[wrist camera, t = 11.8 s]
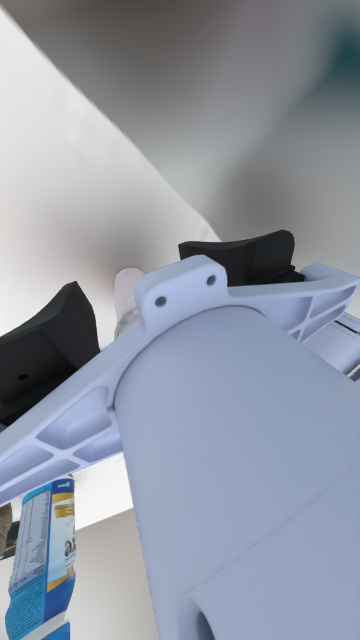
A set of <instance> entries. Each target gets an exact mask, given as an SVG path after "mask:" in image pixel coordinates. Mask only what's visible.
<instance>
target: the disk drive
mask: <svg viewBox="0 0 360 640" xmlns="http://www.w3.org/2000/svg"><path fill="white" fill-rule="evenodd" d="M19 526H20V522H17V523H14V524H12V525H11V528H10V529H9V531H8V532H7V539H6V547H5V549H4V551H3V553H2V555H1V557H0V560H3V559H6V558H8V557H11V556H14V555H15V552H16V546H17V539H18V533H19Z"/></svg>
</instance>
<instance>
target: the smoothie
mask: <svg viewBox="0 0 360 640" xmlns="http://www.w3.org/2000/svg"><path fill="white" fill-rule="evenodd" d="M145 275H146V273H144V272H143V271H142V270H140V269H138V268H134V267H129V268H125V269H123V270H121V271H120V272H119V273H118V274H117V275H116V277H115V279H114V295H115V306H116V316H117V328H116V330H115V336H114V341H115V340H116V339H117V338H119V337H120V336H121V335H122V334H123V333H125V332H126V331H127V330H128V329H130V328H131V327H132V326H133V325H134V324H136V323H137V322H138V320H139V318H140V313H139V309H138V307H137V304H136V302H135V297H134V288H135V286H136V284H137V282H138V280H139V279H140V278H142V277H143V276H145Z"/></svg>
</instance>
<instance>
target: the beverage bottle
mask: <svg viewBox="0 0 360 640" xmlns="http://www.w3.org/2000/svg"><path fill="white" fill-rule="evenodd" d="M75 556H76V544H75V514H74V479H73V477H71V476H67V475H66V476H64V477H62V478H59V479H57V480H55V481H53V482H50V483H48V484H46V485H43V486H41V487H39V488H37V489H35V490H33V491H31V492H29V493H27V494H25V495H24V497H23V501H22V511H21V519H20V526H19V533H18V539H17V546H16V552H15V559H14V566H13V572H12V575H11V577H10V581H9V595H10V598H11V602H10V606H9V608H8V610H7V612H6V615H5V625H6V631H7V634H8V637H9V640H70V623H69V619H67V620H65V621H64V616H65V613H66V610H67V607H68V604H69V602H70V598H71V595H72V592H73V588H74V583H75V576H76V574H75V571H74V569H73V563H74V560H75Z"/></svg>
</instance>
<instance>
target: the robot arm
mask: <svg viewBox="0 0 360 640" xmlns="http://www.w3.org/2000/svg"><path fill="white" fill-rule="evenodd" d="M294 245H295V243H294V237H293V235H292V233H290V232H289V231H286V230H280V231H276V232H273V233H271V234H267V235H264V236H260V237H256V238H252V239H247V240H241V241H235V242H198V241H187V242H184V243H181V244H178V248H179V253H180V259H181V261H178V262H175V263H173V264H170V265H167V266H165V267H162V268H159V269H157V270H154V271H151V272H149V273H147V274H146V275H145V276H143V277H142V278H140V279H139V280H138V282H137V284H136V286H135V288H134V297H135V302H136V304H137V307H138V309H139V313H140V318H139V320H138V322H137V323H136V324H134V325H133V326H132V327H131V328H130V329H128V330H127V331H126V332H125V333H123V334H122V335H121V336H120V337H119V338H117V339H116V340H115V341H114V342H112V343H111V344H110V345H109V346H107V347H106V348H105V349H104V350H103V351H101V352H100V349H99V344H98V337H97V328H96V320H95V315H94V311H93V308H92V305H91V304H90V302H89V301H88V299H87V297H86V296H85V294H84V293H83V291H82V289H81V288H80V286H79V285H78V283H77V281H74V282H71V283H68V284H66V285H65V286H63V287H62V289H61V290H60V291H59V292H58V293H57V294H56V295H55V297H54V298H53V299H52V300H51V301H50V302H49V303H48V304H47V305H46V306H45V307H44V308H43V309H42V310H41V311H40V312H38V313H37V314H36V315H35V316H33V317H32V318H31V319H29V320H28V321H26V322H25V323H23V324H22V325H20V326H19V327H17V328H15V329H14V330H12V331H10V332H8V333H7V334H5V335H3V336H1V337H0V507H2V506H4V505H6V504H7V503H9V502H11V501H13V500H15V499H17V498H19V497H21V496H23V495H25V494H27V493H29V492H31V491H33V490H35V489H37V488H39V487H41V486H43V485H46V484H48V483H50V482H53V481H55V480H57V479H59V478H62V477H64V476H66V475H69V474H71V473H74V472H76V471H78V470H81V469H83V468H86V467H88V466H90V465H93V464H95V463H98V462H100V461H102V460H105V459H107V458H110V457H112V456H114V455H117V454H119V453H122V452H123V453H124V459H125V464H126V469H127V474H128V480H129V485H130V490H131V495H132V500H133V506H134V511H135V516H136V521H137V527H138V532H139V537H140V542H141V547H142V553H143V558H144V563H145V568H146V574H147V579H148V584H149V589H150V594H151V600H152V605H153V609H154V613H155V619H156V624H157V629H158V634H159V639H160V640H360V368H359V369H358V370H357V371H356V372H355V373H353V375H351V376H350V377H347V375H348V374H349V373H350V372H351V371H352V370H353V369H354V368H355V367H357V365H359V364H360V335H358V334H360V319H358V318H356V317H354V316H352V315H350V314H348V313H346V312H345V310H346V308H347V306H348V304H349V303H350V301H351V299H352V297H353V295H354V293H355V291H356V290H357V288H358V286H359V284H360V277H358V276H355V275H352V274H349V273H347V272H344V271H341V270H338V269H335V268H332V267H330V266H327V265H324V264H321V263H318V262H316V263H314V264H312V265H309V266H307V267H305V268H303V269H302V270H301V271H300V272H299V273H298V272H296V271H293V270H295V266H293V265H290V264H291V259H292V255H293V251H294ZM357 333H358V334H357Z"/></svg>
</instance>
